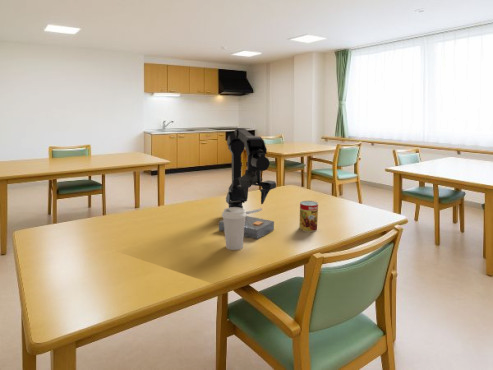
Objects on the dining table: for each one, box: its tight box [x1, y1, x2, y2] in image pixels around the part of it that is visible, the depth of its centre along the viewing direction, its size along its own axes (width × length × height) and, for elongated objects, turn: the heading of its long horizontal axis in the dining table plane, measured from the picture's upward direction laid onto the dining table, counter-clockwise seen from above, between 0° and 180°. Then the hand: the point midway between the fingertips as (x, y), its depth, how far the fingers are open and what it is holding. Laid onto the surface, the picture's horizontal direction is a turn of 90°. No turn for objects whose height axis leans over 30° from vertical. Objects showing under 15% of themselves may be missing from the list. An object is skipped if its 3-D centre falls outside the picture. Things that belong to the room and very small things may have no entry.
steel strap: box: [245, 207, 263, 215], centre depth 162 cm, size 16×3×1 cm, turn 54°
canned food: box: [299, 200, 319, 232], centre depth 164 cm, size 8×8×12 cm
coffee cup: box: [221, 207, 248, 251], centre depth 142 cm, size 10×10×15 cm
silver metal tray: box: [218, 215, 275, 240], centre depth 162 cm, size 20×14×6 cm
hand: (253, 202), depth 158 cm, fingers open, 8 cm apart
